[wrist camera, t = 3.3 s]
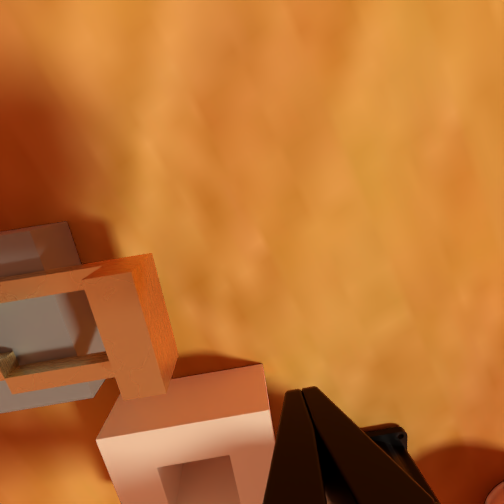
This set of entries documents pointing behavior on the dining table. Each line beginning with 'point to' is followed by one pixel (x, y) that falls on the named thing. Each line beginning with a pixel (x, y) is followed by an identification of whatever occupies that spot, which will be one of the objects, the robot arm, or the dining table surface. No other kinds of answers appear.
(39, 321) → the socket block
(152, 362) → the brass guide bars
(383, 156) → the dining table surface
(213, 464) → the square hole block
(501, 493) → the lidded jar
